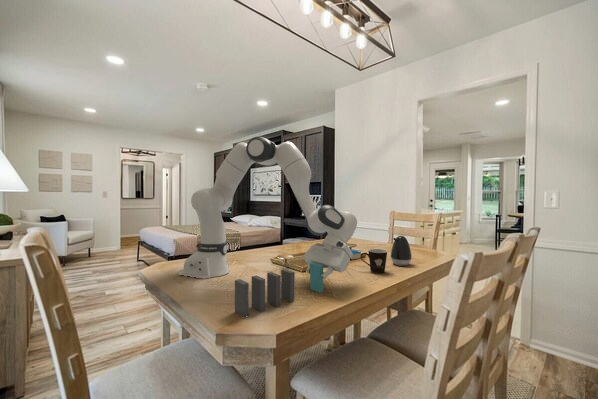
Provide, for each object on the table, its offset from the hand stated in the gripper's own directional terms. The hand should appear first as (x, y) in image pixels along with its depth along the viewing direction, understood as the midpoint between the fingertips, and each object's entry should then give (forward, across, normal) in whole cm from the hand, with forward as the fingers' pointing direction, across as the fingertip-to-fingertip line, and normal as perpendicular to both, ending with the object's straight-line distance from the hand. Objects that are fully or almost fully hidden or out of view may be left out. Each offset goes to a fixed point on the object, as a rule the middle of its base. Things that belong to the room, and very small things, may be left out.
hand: (315, 275), depth 103 cm
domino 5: (+4, 0, +5) cm, 6 cm away
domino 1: (+26, 0, -18) cm, 32 cm away
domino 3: (+18, 0, -10) cm, 20 cm away
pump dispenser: (-39, +1, +47) cm, 61 cm away
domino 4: (+14, 0, -5) cm, 15 cm away
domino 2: (+22, 0, -14) cm, 26 cm away
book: (-28, -31, +37) cm, 56 cm away
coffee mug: (-24, 0, +32) cm, 40 cm away
